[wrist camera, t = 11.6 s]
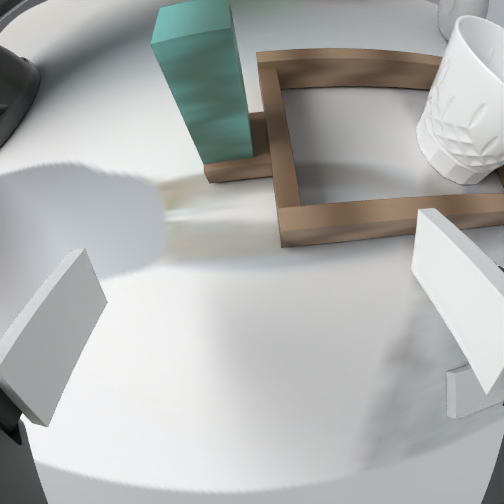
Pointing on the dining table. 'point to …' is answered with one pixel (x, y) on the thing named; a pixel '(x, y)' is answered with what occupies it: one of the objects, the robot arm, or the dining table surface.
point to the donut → (458, 13)
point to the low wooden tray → (275, 125)
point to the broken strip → (467, 393)
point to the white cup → (466, 104)
